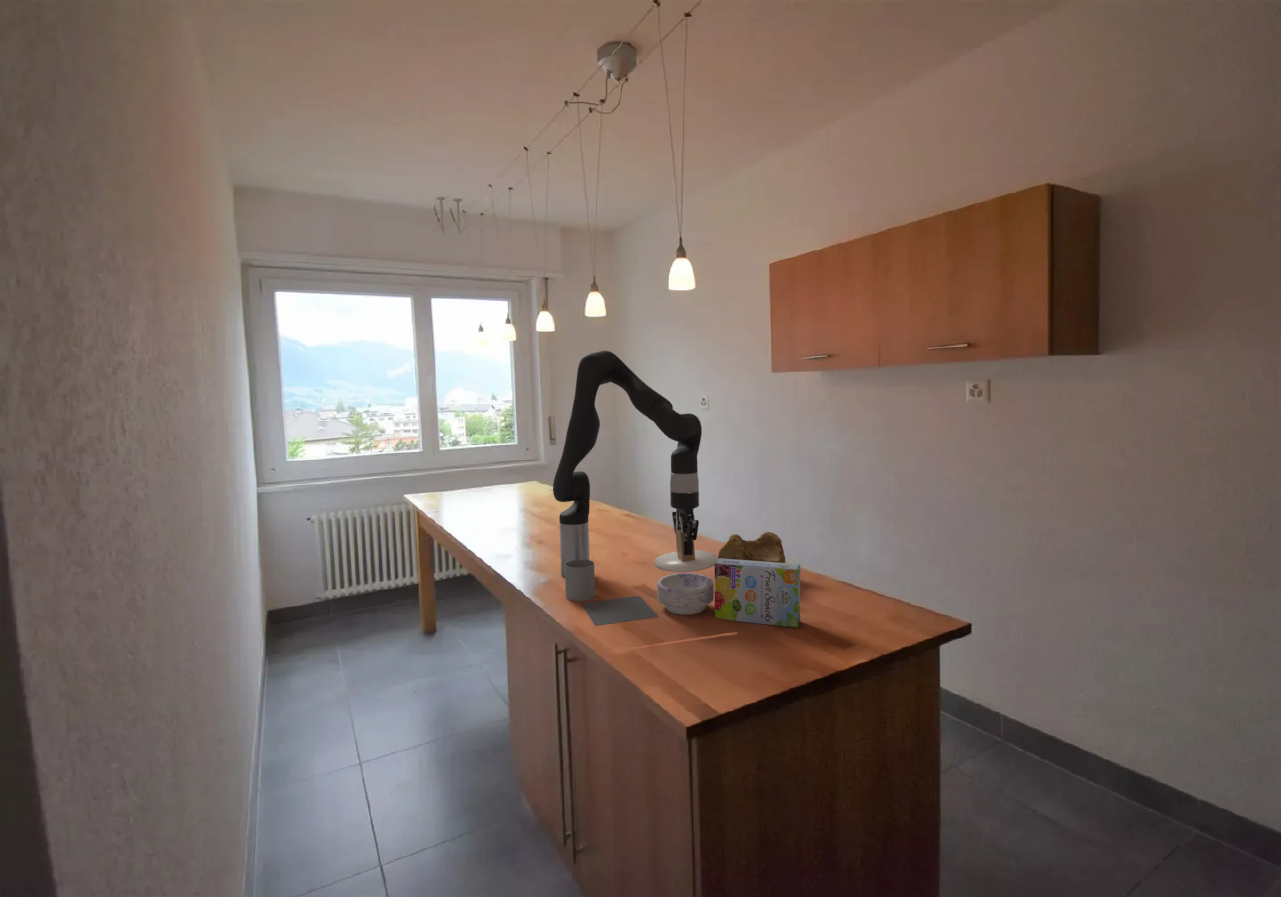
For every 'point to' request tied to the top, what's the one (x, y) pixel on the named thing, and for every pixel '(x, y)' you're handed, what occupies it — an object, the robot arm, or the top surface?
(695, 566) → the lid
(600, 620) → the mat
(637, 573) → the top surface
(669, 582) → the paper bowls
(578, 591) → the cup
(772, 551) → the rough brown rock
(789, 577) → the snack box
